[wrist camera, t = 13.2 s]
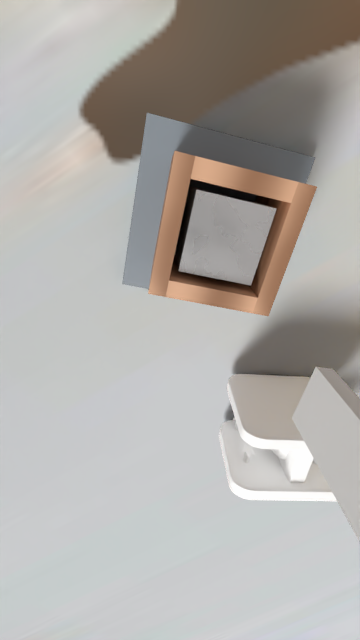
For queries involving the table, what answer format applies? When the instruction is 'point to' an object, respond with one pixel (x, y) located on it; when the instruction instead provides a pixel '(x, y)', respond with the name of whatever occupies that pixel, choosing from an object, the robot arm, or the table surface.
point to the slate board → (154, 174)
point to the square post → (222, 235)
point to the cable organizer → (269, 442)
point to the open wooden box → (277, 249)
